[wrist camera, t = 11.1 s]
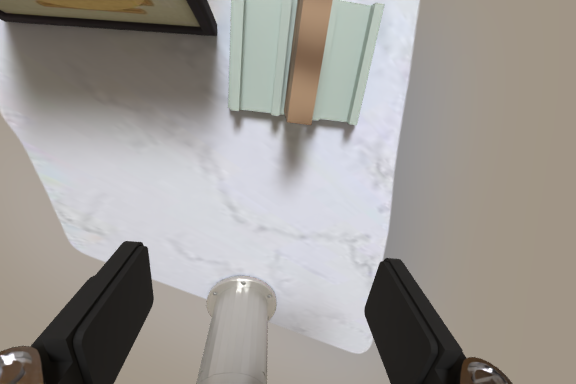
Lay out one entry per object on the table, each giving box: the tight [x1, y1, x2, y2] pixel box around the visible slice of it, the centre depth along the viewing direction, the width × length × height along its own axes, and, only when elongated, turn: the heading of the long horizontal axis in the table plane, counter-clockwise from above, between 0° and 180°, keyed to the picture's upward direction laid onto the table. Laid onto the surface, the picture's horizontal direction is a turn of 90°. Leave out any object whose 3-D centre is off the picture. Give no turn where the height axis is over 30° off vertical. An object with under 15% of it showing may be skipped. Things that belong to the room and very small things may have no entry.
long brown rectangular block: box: [284, 0, 333, 125], centre depth 28 cm, size 12×3×8 cm, turn 172°
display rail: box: [228, 0, 385, 125], centre depth 32 cm, size 13×17×3 cm
